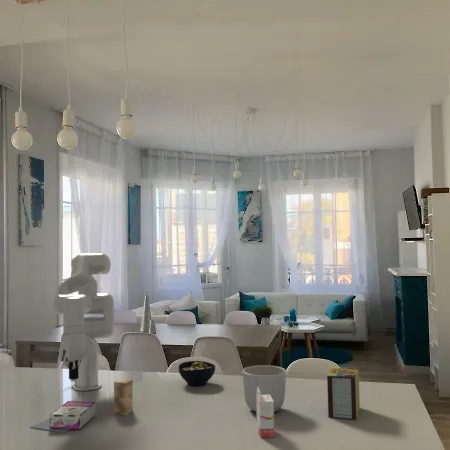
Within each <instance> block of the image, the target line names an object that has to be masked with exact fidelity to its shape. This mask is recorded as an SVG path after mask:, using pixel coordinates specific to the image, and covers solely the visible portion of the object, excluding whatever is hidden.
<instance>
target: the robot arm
mask: <svg viewBox="0 0 450 450" xmlns="http://www.w3.org/2000/svg"><path fill="white" fill-rule="evenodd" d="M70 265H71V273H70V277H68V278H66V279H65V280H63V282H61V283H60V284H59V285H58V287H57V288H56V291H55V295H54V300H53V310H54V312H55V313H56V314H58V315H62V317H63V320H62V323H63V326H62V327H63V330H62V334H61V339H60V343H59V344H60V345H59V361H60V362H62V366H65V367H67V369H68V379H69V380H70V382H72V383H74V384H73V385H72V387H73V388H72V389H73V390H75V391H80V392H82V391H83V392H85V391H86V392H88V391H92V390H93V391H94V390H98V389H100V388H101V387H102V385H103V384H102V382H101V381H99V347H98V345H97V343H96V342H95V341H94V340H93V339H108V338H112V336H113V335H114V331H115V314H114V313H115V307H114V304H115V303H114V298H113V296H112V295H111V293H110V294H109V293H108V292H107V293H105V292H103V293H101V292H100V293H98V281H97V280H96V279H95V277H94V276H93V275H107V274H109V272H110V270H111V267H112V266H111V265H112V263H111V259H110V258H109V255H107V254H106V253H100V252H99V253H98V252H97V253H96V252H93V253H92V252H91V253H89V252H87V253H86V252H85V253H80V254H78V255H76V256H75V257H73V258H72V259H71V262H70ZM76 292H78V293H77V294H73V293H76ZM85 315H103V316H100V317H99V316H97V317H96V316H95V317H94V316H93V317H92V316H91V317H89V316H87V317H85Z"/></svg>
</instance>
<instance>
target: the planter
mask: <svg viewBox="0 0 450 450" xmlns="http://www.w3.org/2000/svg"><path fill="white" fill-rule="evenodd" d="M286 378H287V370H286V368H283V367H280V366H278V365H277V366H275V365H266V364H265V365H263V364H262V365H252V366H248V367H247V366H246V367H244V368H243V369H242V383H243V395H244V401H245V404H246V405H247V407H248V408H249V409H250V410H251V411H252V412H255V413H257V387H258V388H259V390H260V392H261V395H270V396H271V398H272V399H273V401H274V413H276V412H277V411H279V410H280V409H281V408H282V407H283V405H284V403H285V398H286V381H287V379H286ZM258 394H259V392H258Z"/></svg>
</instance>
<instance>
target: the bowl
mask: <svg viewBox="0 0 450 450" xmlns="http://www.w3.org/2000/svg"><path fill="white" fill-rule="evenodd" d="M177 367H178V373H179V375H180V377H181V378H182V379H183V380H184V381H185V382H186V384H187V386H189V387H192V388H198V387H199V388H200V387H204V386H206V385H207V383H208V382H209V381H210V380H211V378H212V377H213V376H214V374H215V372H216V365H215V364H214V363H212V362H207V361H202V360H201V361H200V360H189V361H183V362H182V363H180V364H178V366H177Z"/></svg>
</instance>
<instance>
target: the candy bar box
mask: <svg viewBox="0 0 450 450" xmlns="http://www.w3.org/2000/svg"><path fill="white" fill-rule="evenodd" d="M95 415H96V402H95V401H80V400H79V401H77V400H67V401H66V402H65V403H63V404H62V405H61V406H59V407H58V408H57V409H55V411H53V412H52V413H50V414H49V418H50V428H61V429H71V430H81V428H82V427H83V426H84V425H85V424H86V423H87V422H89V421H90V420H89V419H90V418H91V417H95ZM88 420H89V421H88Z"/></svg>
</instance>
